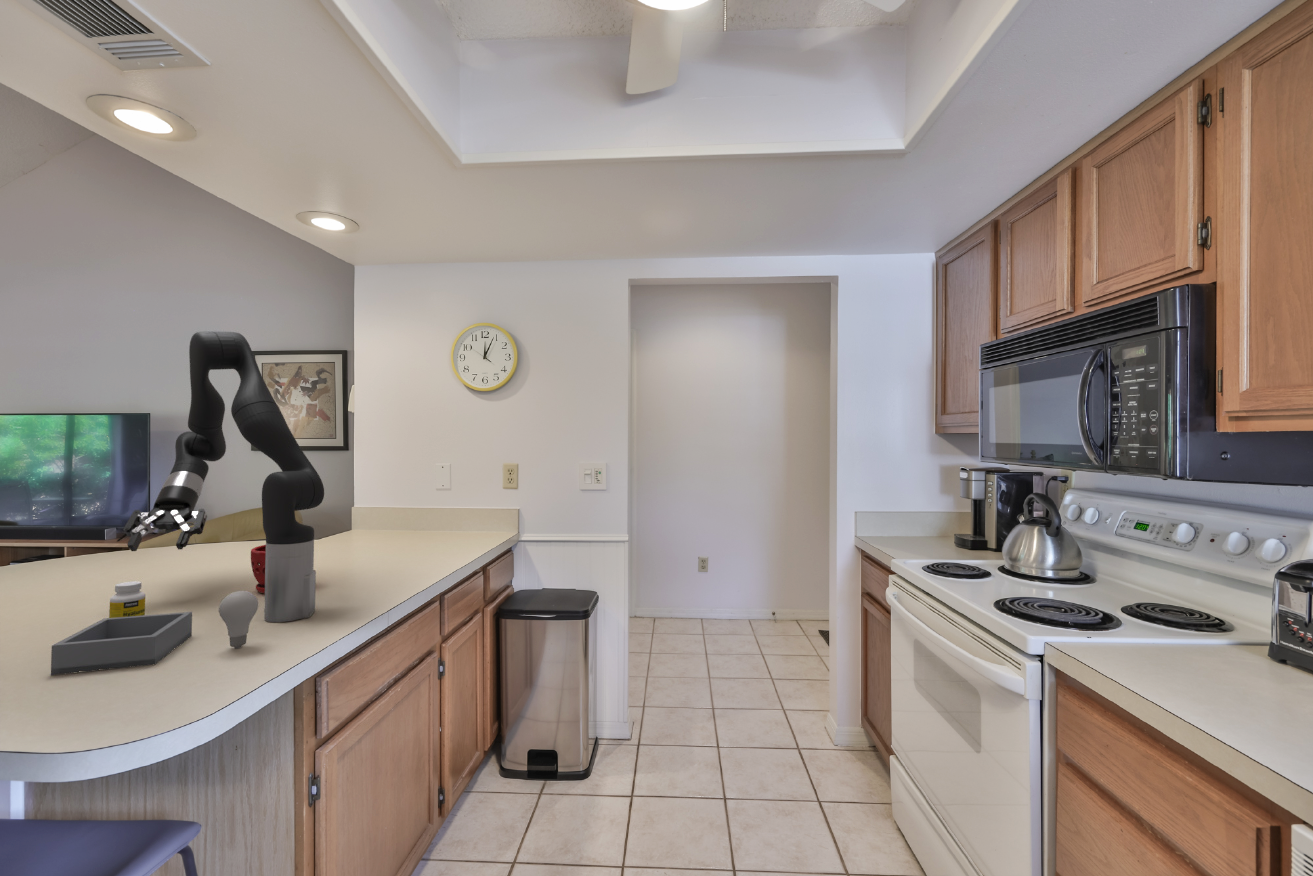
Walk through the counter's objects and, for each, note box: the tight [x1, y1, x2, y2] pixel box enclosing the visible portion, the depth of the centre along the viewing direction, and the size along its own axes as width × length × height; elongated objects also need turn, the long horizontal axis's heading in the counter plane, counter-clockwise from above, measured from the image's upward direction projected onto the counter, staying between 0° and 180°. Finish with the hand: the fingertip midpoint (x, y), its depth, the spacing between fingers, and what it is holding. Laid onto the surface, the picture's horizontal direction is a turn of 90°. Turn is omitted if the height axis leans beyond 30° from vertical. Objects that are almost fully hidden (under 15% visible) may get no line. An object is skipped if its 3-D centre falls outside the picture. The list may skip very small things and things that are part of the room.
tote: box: [50, 611, 193, 676], centre depth 102 cm, size 14×15×5 cm
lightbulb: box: [218, 590, 259, 649], centre depth 106 cm, size 6×6×11 cm
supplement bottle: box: [108, 580, 146, 618], centre depth 115 cm, size 5×5×10 cm
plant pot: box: [250, 544, 266, 594], centre depth 147 cm, size 13×13×12 cm
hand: (156, 548), depth 126 cm, fingers open, 8 cm apart
